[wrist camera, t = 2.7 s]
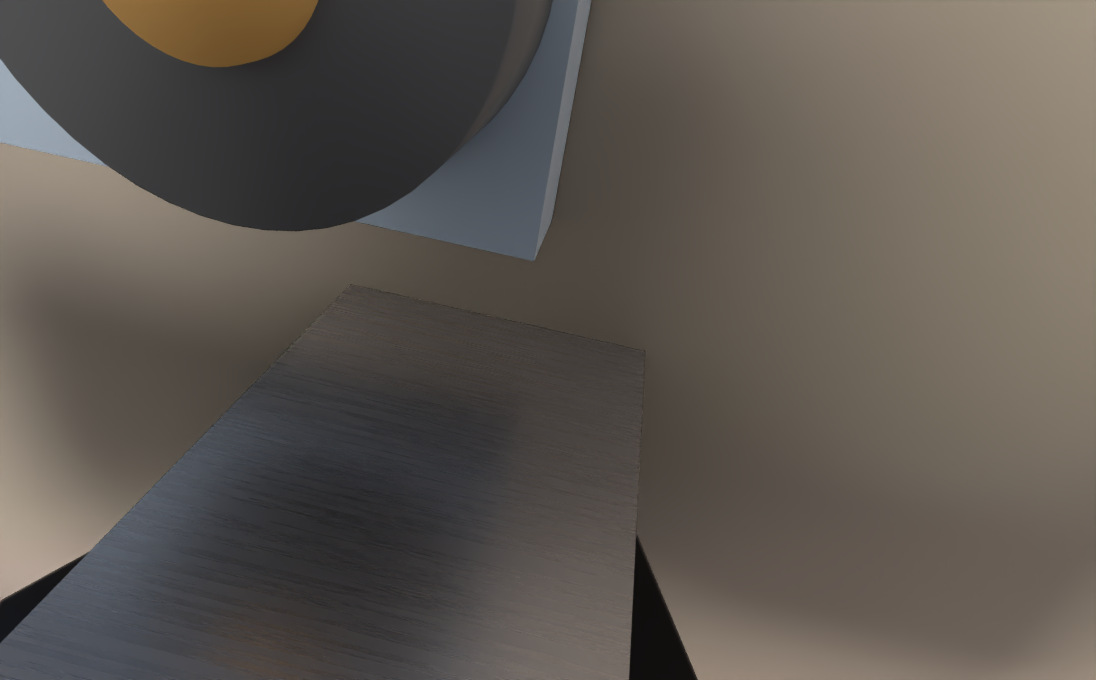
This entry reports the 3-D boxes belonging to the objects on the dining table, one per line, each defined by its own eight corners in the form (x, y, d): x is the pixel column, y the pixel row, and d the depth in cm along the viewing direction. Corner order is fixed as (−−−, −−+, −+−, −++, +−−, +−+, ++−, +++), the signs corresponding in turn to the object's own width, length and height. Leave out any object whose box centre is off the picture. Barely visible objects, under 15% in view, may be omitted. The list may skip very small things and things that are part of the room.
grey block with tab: (574, 588, 11) (470, 1291, 5) (351, 533, 11) (11, 1154, 5) (645, 350, 8) (601, 1255, 2) (351, 283, 8) (-329, 978, 3)
